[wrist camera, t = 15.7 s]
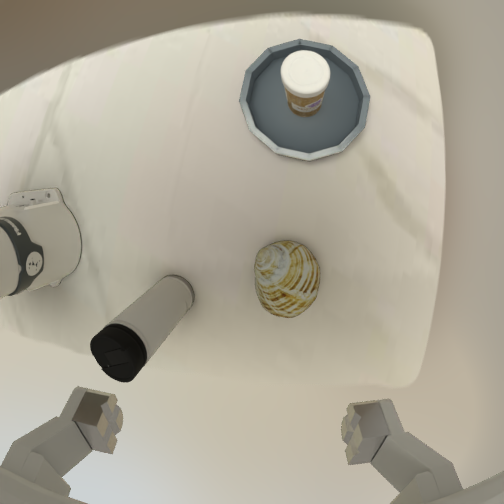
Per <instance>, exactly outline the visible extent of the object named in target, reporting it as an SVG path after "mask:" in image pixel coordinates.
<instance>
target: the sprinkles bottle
mask: <svg viewBox="0 0 504 504" xmlns="http://www.w3.org/2000/svg"><path fill="white" fill-rule="evenodd" d="M281 79H282V82H283V85H284V88H285V93H286V97H287V102H288V106H289V108H290V110H291V111H292V112H293V113H294V114H296V115H298V116H300V117H310V116H313V115H315V114H316V113H317V112H318V111H319V110H320V108H321V105H322V100H323V97H324V93H325V89H326V88H327V86H328V83H329V80H330V68H329V65H328V63H327V61H326V60H325V59H324V58H323V57H322V56H321V55H319V54H317V53H315V52H312V51H307V50H301V51H296V52H293V53H291V54H290V55H288V56H287V57H286V58H285V60H284V61H283V63H282V66H281Z"/></svg>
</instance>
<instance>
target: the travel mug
mask: <svg viewBox="0 0 504 504" xmlns="http://www.w3.org/2000/svg"><path fill="white" fill-rule="evenodd" d="M193 302H194V292H193V289H192V287H191V286H190V284H189V283H188V282H187V281H186V280H185V279H183V278H182V277H179V276H176V275H169V276H166V277H164V278H162V279H161V280H160V281H159V282H158V283H156V284H155V285H154V286H153V287H152V288H150V289H149V290H148V291H147V292H145V293H144V294H143V295H142V296H141V297H139V298H138V299H137V300H136V301H135V302H133V303H132V304H131V305H130V306H129V307H127V308H126V309H125V310H124V311H123V312H122V313H120V314H119V315H118V316H117V317H116V318H114V319H113V320H112V321H111V322H110V323H109V324H107V325H106V326H105V327H104V328H103V330H101V331H100V332H99V333H98V334H97V335H95V336H94V337H93V338H92V340H91V344H90V347H91V352H92V354H93V356H94V357H95V359H96V361H97V362H98V364H99V365H100V366H101V367H102V370H103V371H104V372H105V373H106V374H107V375H108V376H110V377H111V378H113V379H115V380H117V381H120V382H130V381H132V380H133V379H134V378H135V376H136V375H137V374H138V373H139V371H140V370H141V369H142V367H144V366H145V364H146V363H147V362H148V361H149V359H150V358H151V357H152V355H153V354H154V353H155V352H156V350H157V349H158V348H159V347H160V345H161V344H162V343H163V341H164V340H165V339H166V338H167V336H168V335H169V334H170V333H171V331H172V330H173V329H174V327H175V326H176V325H177V324H178V322H179V321H180V320H181V319H182V317H183V316H184V315H185V314H186V312H187V311H188V310H189V309H190V307H191V306H192V304H193Z"/></svg>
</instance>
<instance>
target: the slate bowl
mask: <svg viewBox="0 0 504 504" xmlns="http://www.w3.org/2000/svg"><path fill="white" fill-rule="evenodd" d="M301 50H307V51H312V52H315V53H317V54H319V55H321V56H322V57H323V58H324V59H325V60H326V61H327V63H328V65H329V68H330V80H329V83H328V86H327V88H326V89H325V93H324V97H323V100H322V105H321V108H320V110H319V111H318V112H317V113H316V114H315V115H313V116H310V117H300V116H298V115H296V114H294V113H293V112H292V111H291V110H290V108H289V106H288V102H287V97H286V93H285V88H284V85H283V82H282V79H281V66H282V63H283V61H284V60H285V58H286V57H287V56H288V55H290V54H291V53H293V52H296V51H301ZM369 101H370V95H369V92H368V90H367V87H366V84H365V82H364V79H363V77H362V75H361V72H360V70H359V67H358V66H357V65H356V64H354V63H353V62H352V61H351V60H350V59H348V58H347V57H346V56H345V55H343V54H342V53H341V52H340V51H338V50H337V49H336V48H335V47H333V46H331V45H327V44H322V43H317V42H312V41H307V40H302V39H298V40H294V41H290V42H287V43H283V44H280V45H276V46H273V47H270V48H267V49H266V50H265V51H264V52H263V53H262V54H261V55H260V56H259V57H258V58H257V60H256V61H255V62H254V63H253V64H252V65H251V66H250V67H249V68H248V69H247V70H246V72H245V77H244V81H243V85H242V90H241V94H240V99H239V102H240V105H241V107H242V110H243V113H244V116H245V119H246V122H247V124H248V127H249V130H250V132H252V133H253V134H254V135H255V136H256V137H258V138H259V139H260V140H261V141H262V142H263V143H265V144H266V145H267V146H268V147H269V148H270V149H271V150H273V151H274V152H275V153H276V154H278V155H282V156H287V157H291V158H296V159H300V160H305V161H312V160H316V159H319V158H323V157H326V156H330V155H333V154H337V153H340V152H342V151H343V150H344V149H345V148H346V147H347V146H348V145H349V144H350V143H351V142H352V141H353V139H354V138H355V137H356V136H357V135H358V134H359V133H360V132H361V131H362V130H363V129H364V128H365V123H366V117H367V112H368V106H369Z"/></svg>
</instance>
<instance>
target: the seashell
mask: <svg viewBox="0 0 504 504" xmlns="http://www.w3.org/2000/svg"><path fill="white" fill-rule="evenodd" d="M254 269H255V275H256V278H255V288H256V292H257V296H258V298H259V300H260V302H261V304H262V306H263V307H264V308H265V309H266V310H267V311H268V312H270V313H271V314H273V315H276V316H280V317H286V318H292V317H295V316H298V315H300V314H301V313H302V312H304V311H305V310H306V309H307V308H308V307H309V306H310V305H311V304H312V303H313V301H314V300H315V299H316V297H317V291H318V288H319V283H320V269H319V266H318V264H317V262H316V259H315V258H314V256H313V255H312V253H311V252H310V251H309V250H308V249H307V248H306V247H305V246H304V245H300V244H298V243H296V242H293V241H279V242H275V243H273V244H271V245H268V246H266V247H264V248H262V249H261V250H260V251H259V252H258V254H257V256H256V261H255V265H254Z"/></svg>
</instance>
